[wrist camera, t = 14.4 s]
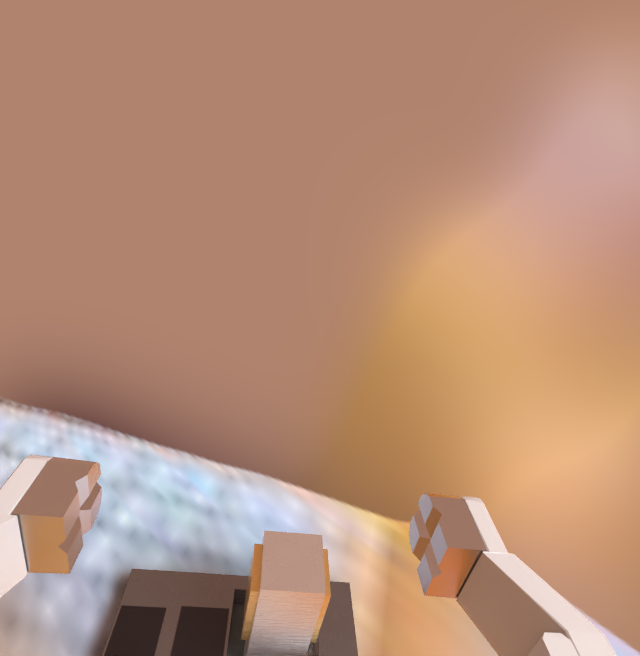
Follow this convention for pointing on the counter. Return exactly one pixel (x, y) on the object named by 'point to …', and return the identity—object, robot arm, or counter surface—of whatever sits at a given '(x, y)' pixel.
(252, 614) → the brushed metal pillar
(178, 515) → the counter surface
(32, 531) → the robot arm
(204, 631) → the rail
